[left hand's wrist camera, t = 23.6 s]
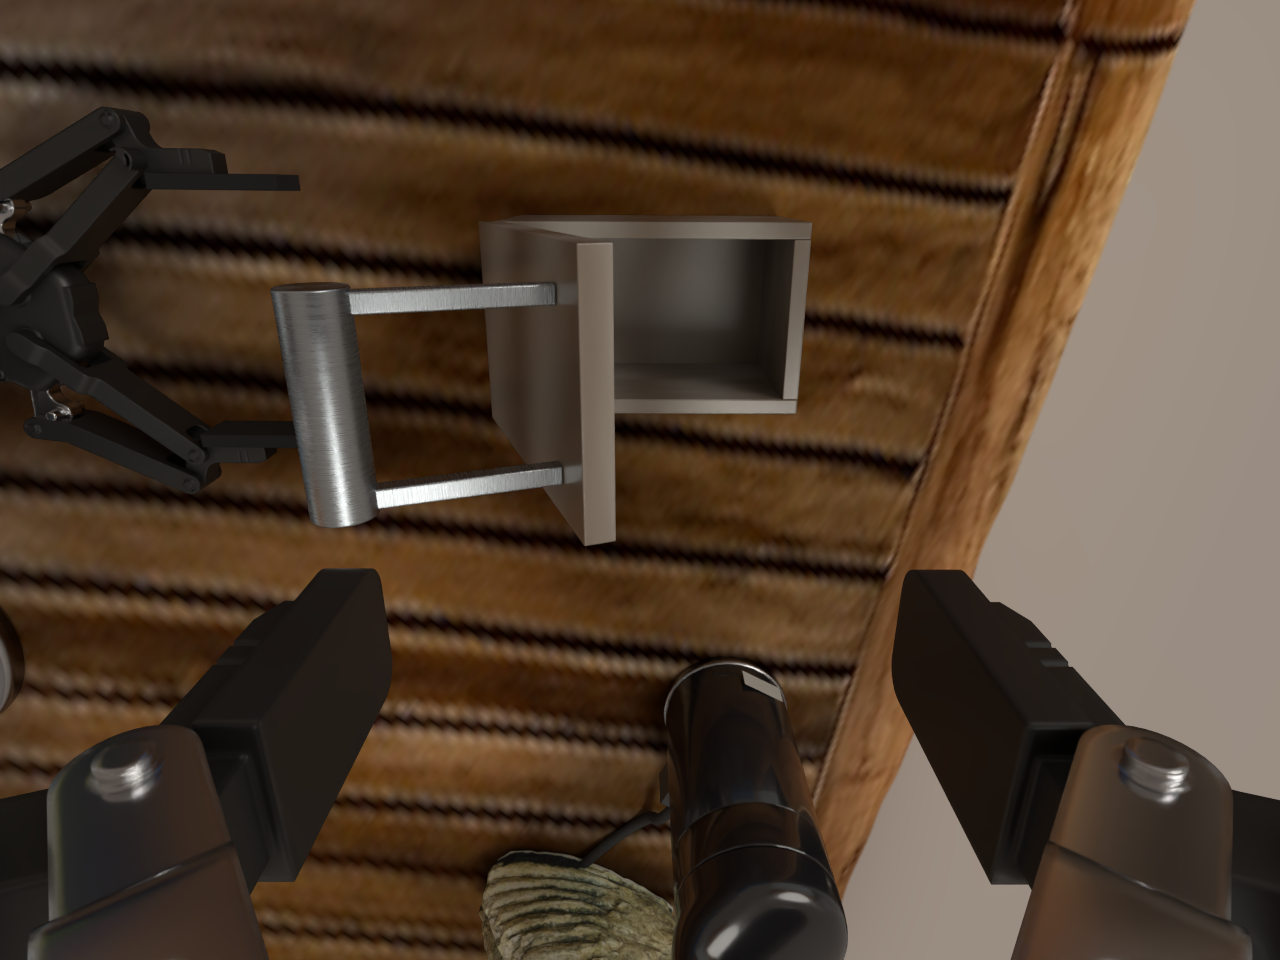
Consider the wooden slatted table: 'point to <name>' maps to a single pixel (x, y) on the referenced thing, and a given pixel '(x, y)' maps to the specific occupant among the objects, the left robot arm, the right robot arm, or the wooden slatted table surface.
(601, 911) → the fossil
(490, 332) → the grey piece
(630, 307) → the chest
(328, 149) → the wooden slatted table surface
